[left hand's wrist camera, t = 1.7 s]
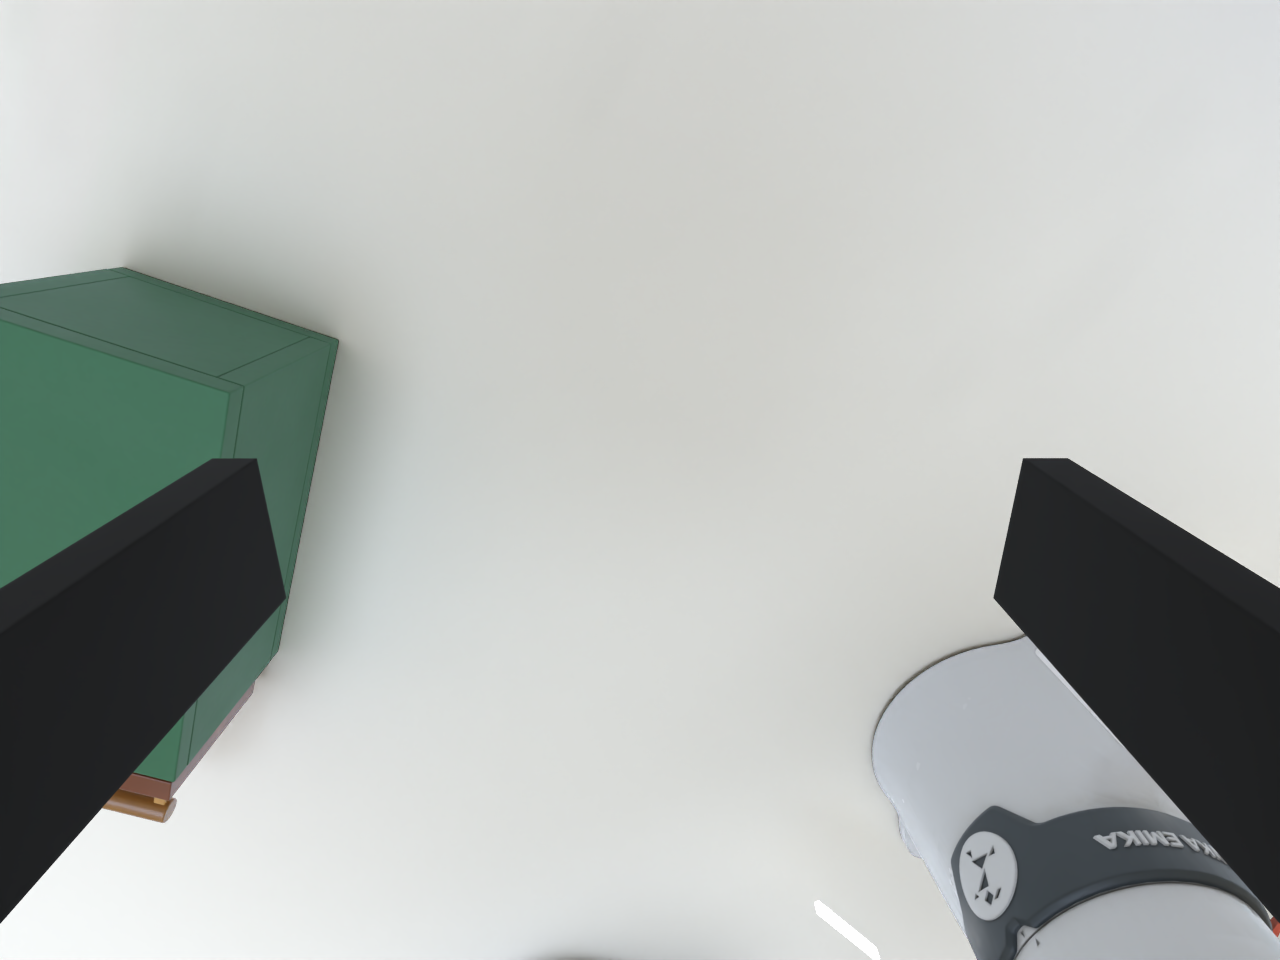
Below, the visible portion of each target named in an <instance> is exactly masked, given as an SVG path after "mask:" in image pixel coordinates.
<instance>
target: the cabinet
mask: <svg viewBox="0 0 1280 960" xmlns="http://www.w3.org/2000/svg"><path fill="white" fill-rule="evenodd" d="M337 347H338V340H337V339H334V338H331V337H328V336H325V335H322V334H319V333H316V332H313V331H310V330H307V329H304V328H301V327H298V326H295V325H292V324H289V323H286V322H283V321H280V320H277V319H274V318H272V317H269V316H266V315H263V314H260V313H257V312H254V311H251V310H248V309H245V308H242V307H239V306H236V305H233V304H230V303H227V302H224V301H221V300H218V299H215V298H212V297H209V296H206V295H203V294H200V293H197V292H194V291H191V290H188V289H185V288H182V287H179V286H176V285H173V284H170V283H167V282H164V281H161V280H158V279H155V278H152V277H150V276H147V275H144V274H141V273H138V272H135V271H132V270H129V269H126V268H123V267H120V268H113V269H103V270H96V271H89V272H82V273H75V274H68V275H61V276H54V277H47V278H40V279H33V280H26V281H19V282H11V283H4V284H0V588H2V587H3V586H5V585H7V584H8V583H10V582H12V581H13V580H15V579H16V578H18V577H20V576H21V575H23V574H25V573H26V572H28V571H29V570H31V569H33V568H34V567H36V566H38V565H39V564H41V563H42V562H44V561H46V560H47V559H49V558H51V557H52V556H54V555H56V554H57V553H59V552H60V551H62V550H64V549H65V548H67V547H69V546H70V545H72V544H73V543H75V542H77V541H78V540H80V539H82V538H83V537H85V536H86V535H88V534H90V533H91V532H93V531H95V530H96V529H98V528H100V527H101V526H103V525H104V524H106V523H108V522H109V521H111V520H113V519H114V518H116V517H117V516H119V515H121V514H122V513H124V512H126V511H127V510H129V509H130V508H132V507H134V506H135V505H137V504H139V503H140V502H142V501H144V500H145V499H147V498H148V497H150V496H152V495H153V494H155V493H157V492H158V491H160V490H161V489H163V488H165V487H166V486H168V485H170V484H171V483H173V482H174V481H176V480H178V479H179V478H181V477H183V476H184V475H186V474H188V473H189V472H191V471H192V470H194V469H196V468H197V467H199V466H201V465H202V464H204V463H205V462H207V461H209V460H210V459H212V458H257V461H258V466H259V471H260V475H261V480H262V485H263V490H264V494H265V499H266V504H267V508H268V513H269V518H270V522H271V527H272V532H273V537H274V541H275V546H276V551H277V555H278V560H279V565H280V570H281V574H282V579H283V584H284V588H285V593H286V599H285V600H284V601H283V603H282V604H281V605H280V606H279V607H278V608H277V609H276V611H275V612H274V613H273V614H272V615H271V616H270V617H269V618H268V620H267V621H266V622H265V623H264V624H263V625H262V626H261V628H260V629H259V630H258V631H257V632H256V633H255V634H254V636H253V637H252V638H251V639H250V640H249V641H248V642H247V643H246V645H245V646H244V647H243V648H242V649H241V650H240V651H239V653H238V654H237V655H236V656H235V657H234V658H233V659H232V661H231V662H230V663H229V664H228V665H227V666H226V667H225V669H224V670H223V671H222V672H221V673H220V674H219V675H218V676H217V678H216V679H215V680H214V681H213V682H212V683H211V684H210V686H209V687H208V688H207V689H206V690H205V691H204V692H203V694H202V695H201V696H200V697H199V698H198V699H197V700H196V702H195V703H194V704H193V705H192V706H191V707H190V708H189V709H188V711H187V712H186V713H185V714H184V715H183V716H182V717H181V719H180V720H179V721H178V722H177V723H176V724H175V725H174V727H173V728H172V729H171V730H170V731H169V732H168V733H167V734H166V736H165V737H164V738H163V739H162V740H161V741H160V742H159V744H158V745H157V746H156V747H155V748H154V749H153V750H152V752H151V753H150V754H149V755H148V756H147V757H146V758H145V760H144V761H143V762H142V763H141V764H140V765H139V766H138V767H137V769H136V770H135V771H134V772H135V773H139V774H142V775H146V776H150V777H154V778H158V779H162V780H166V781H170V782H175V781H176V779H177V778H178V777H179V776H180V774H181V773H182V772H183V771H184V769H185V768H186V767H187V765H188V764H189V763H190V762H191V761H192V759H193V758H194V757H195V756H196V754H197V753H198V752H199V750H200V749H201V748H202V747H203V745H204V744H205V743H206V742H207V740H208V739H209V738H210V737H211V735H212V734H213V733H214V732H215V730H216V729H217V728H218V726H219V725H220V724H221V723H222V721H223V720H224V719H225V718H226V716H227V715H228V714H229V713H230V711H231V710H232V709H233V708H234V706H235V705H236V704H237V702H238V701H239V700H240V699H241V697H242V696H243V695H244V694H245V692H246V691H247V690H248V689H249V687H250V686H251V685H252V683H253V682H254V681H255V680H256V678H257V677H258V676H259V675H260V673H261V672H262V671H263V670H264V668H265V667H266V666H267V665H268V663H269V662H270V660H271V659H272V658H273V657H274V655H275V654H276V653H277V652H278V648H279V643H280V638H281V633H282V628H283V622H284V617H285V612H286V607H287V602H288V597H289V592H290V587H291V582H292V577H293V571H294V566H295V561H296V556H297V551H298V546H299V541H300V536H301V531H302V526H303V520H304V515H305V510H306V505H307V500H308V495H309V490H310V485H311V480H312V475H313V469H314V464H315V459H316V454H317V449H318V444H319V439H320V434H321V429H322V423H323V418H324V413H325V408H326V403H327V398H328V393H329V388H330V383H331V378H332V372H333V367H334V362H335V357H336V352H337Z"/></svg>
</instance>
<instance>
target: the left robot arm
mask: <svg viewBox="0 0 1280 960" xmlns="http://www.w3.org/2000/svg"><path fill="white" fill-rule="evenodd" d="M285 599H286V593H285V588H284V584H283V579H282V574H281V570H280V565H279V560H278V555H277V551H276V546H275V541H274V537H273V532H272V527H271V522H270V518H269V513H268V508H267V504H266V499H265V494H264V490H263V485H262V480H261V475H260V471H259V466H258V461H257V458H212V459H210V460H209V461H207V462H205V463H204V464H202V465H201V466H199V467H197V468H196V469H194V470H192V471H191V472H189V473H188V474H186V475H184V476H183V477H181V478H179V479H178V480H176V481H174V482H173V483H171V484H170V485H168V486H166V487H165V488H163V489H161V490H160V491H158V492H157V493H155V494H153V495H152V496H150V497H148V498H147V499H145V500H144V501H142V502H140V503H139V504H137V505H135V506H134V507H132V508H130V509H129V510H127V511H126V512H124V513H122V514H121V515H119V516H117V517H116V518H114V519H113V520H111V521H109V522H108V523H106V524H104V525H103V526H101V527H100V528H98V529H96V530H95V531H93V532H91V533H90V534H88V535H86V536H85V537H83V538H82V539H80V540H78V541H77V542H75V543H73V544H72V545H70V546H69V547H67V548H65V549H64V550H62V551H60V552H59V553H57V554H56V555H54V556H52V557H51V558H49V559H47V560H46V561H44V562H42V563H41V564H39V565H38V566H36V567H34V568H33V569H31V570H29V571H28V572H26V573H25V574H23V575H21V576H20V577H18V578H16V579H15V580H13V581H12V582H10V583H8V584H7V585H5V586H3V587H2V588H0V923H1V922H2V921H3V920H4V919H5V918H6V917H7V915H8V914H9V913H10V912H11V911H12V910H13V909H14V907H15V906H16V905H17V904H18V903H19V902H20V901H21V899H22V898H23V897H24V896H25V895H26V894H27V893H28V891H29V890H30V889H31V888H32V887H33V886H34V885H35V884H36V882H37V881H38V880H39V879H40V878H41V877H42V876H43V874H44V873H45V872H46V871H47V870H48V869H49V868H50V866H51V865H52V864H53V863H54V862H55V861H56V860H57V858H58V857H59V856H60V855H61V854H62V853H63V852H64V851H65V849H66V848H67V847H68V846H69V845H70V844H71V843H72V841H73V840H74V839H75V838H76V837H77V836H78V835H79V833H80V832H81V831H82V830H83V829H84V828H85V827H86V826H87V824H88V823H89V822H90V821H91V820H92V819H93V818H94V816H95V815H96V814H97V813H98V812H99V811H100V810H101V808H102V807H103V806H104V805H105V804H106V803H107V802H108V800H109V799H110V798H111V797H112V796H113V795H114V794H115V793H116V791H117V790H118V789H119V788H120V787H121V786H122V785H123V783H124V782H125V781H126V780H127V779H128V778H129V777H130V775H131V774H132V773H133V772H134V771H135V770H136V769H137V767H138V766H139V765H140V764H141V763H142V762H143V761H144V760H145V758H146V757H147V756H148V755H149V754H150V753H151V752H152V750H153V749H154V748H155V747H156V746H157V745H158V744H159V742H160V741H161V740H162V739H163V738H164V737H165V736H166V734H167V733H168V732H169V731H170V730H171V729H172V728H173V727H174V725H175V724H176V723H177V722H178V721H179V720H180V719H181V717H182V716H183V715H184V714H185V713H186V712H187V711H188V709H189V708H190V707H191V706H192V705H193V704H194V703H195V702H196V700H197V699H198V698H199V697H200V696H201V695H202V694H203V692H204V691H205V690H206V689H207V688H208V687H209V686H210V684H211V683H212V682H213V681H214V680H215V679H216V678H217V676H218V675H219V674H220V673H221V672H222V671H223V670H224V669H225V667H226V666H227V665H228V664H229V663H230V662H231V661H232V659H233V658H234V657H235V656H236V655H237V654H238V653H239V651H240V650H241V649H242V648H243V647H244V646H245V645H246V643H247V642H248V641H249V640H250V639H251V638H252V637H253V636H254V634H255V633H256V632H257V631H258V630H259V629H260V628H261V626H262V625H263V624H264V623H265V622H266V621H267V620H268V618H269V617H270V616H271V615H272V614H273V613H274V612H275V611H276V609H277V608H278V607H279V606H280V605H281V604H282V603H283V601H284V600H285ZM994 599H995V600H996V601H997V603H998V604H999V605H1000V606H1001V607H1002V608H1003V609H1004V611H1005V612H1006V613H1007V614H1008V615H1009V616H1010V617H1011V618H1012V620H1013V621H1014V622H1015V623H1016V624H1017V625H1018V626H1019V628H1020V629H1021V630H1022V631H1023V632H1024V633H1025V634H1026V636H1027V637H1028V638H1029V639H1030V640H1031V641H1032V642H1033V643H1034V645H1035V646H1036V647H1037V648H1038V649H1039V650H1040V651H1041V653H1042V654H1043V655H1044V656H1045V657H1046V658H1047V659H1048V661H1049V662H1050V663H1051V664H1052V665H1053V666H1054V667H1055V669H1056V670H1057V671H1058V672H1059V673H1060V674H1061V675H1062V676H1063V678H1064V679H1065V680H1066V681H1067V682H1068V683H1069V684H1070V686H1071V687H1072V688H1073V689H1074V690H1075V691H1076V692H1077V694H1078V695H1079V696H1080V697H1081V698H1082V699H1083V700H1084V702H1085V703H1086V704H1087V705H1088V706H1089V707H1090V708H1091V709H1092V711H1093V712H1094V713H1095V714H1096V715H1097V716H1098V717H1099V719H1100V720H1101V721H1102V722H1103V723H1104V724H1105V725H1106V727H1107V728H1108V729H1109V730H1110V731H1111V732H1112V733H1113V734H1114V736H1115V737H1116V738H1117V739H1118V740H1119V741H1120V742H1121V744H1122V745H1123V746H1124V747H1125V748H1126V749H1127V750H1128V752H1129V753H1130V754H1131V755H1132V756H1133V757H1134V758H1135V760H1136V761H1137V762H1138V763H1139V764H1140V765H1141V766H1142V767H1143V769H1144V770H1145V771H1146V772H1147V773H1148V774H1149V775H1150V777H1151V778H1152V779H1153V780H1154V781H1155V782H1156V783H1157V785H1158V786H1159V787H1160V788H1161V789H1162V790H1163V791H1164V793H1165V794H1166V795H1167V796H1168V797H1169V798H1170V799H1171V800H1172V802H1173V803H1174V804H1175V805H1176V806H1177V807H1178V808H1179V810H1180V811H1181V812H1182V813H1183V814H1184V815H1185V816H1186V818H1187V819H1188V820H1189V821H1190V822H1191V823H1192V824H1193V826H1194V827H1195V828H1196V829H1197V830H1198V831H1199V832H1200V833H1201V835H1202V836H1203V837H1204V838H1205V839H1206V840H1207V841H1208V843H1209V844H1210V845H1211V846H1212V847H1213V848H1214V849H1215V851H1216V852H1217V853H1218V854H1219V855H1220V856H1221V857H1222V858H1223V860H1224V861H1225V862H1226V863H1227V864H1228V865H1229V866H1230V868H1231V869H1232V870H1233V871H1234V872H1235V873H1236V874H1237V876H1238V877H1239V878H1240V879H1241V880H1242V881H1243V882H1244V884H1245V885H1246V886H1247V887H1248V888H1249V889H1250V890H1251V891H1252V893H1253V894H1254V895H1255V896H1256V897H1257V898H1258V899H1259V901H1260V902H1261V903H1262V904H1263V905H1264V906H1265V907H1266V909H1267V910H1268V911H1269V912H1270V913H1271V914H1272V915H1273V917H1274V918H1275V919H1276V920H1277V921H1278V922H1279V923H1280V588H1278V587H1277V586H1275V585H1273V584H1272V583H1270V582H1268V581H1267V580H1265V579H1264V578H1262V577H1260V576H1259V575H1257V574H1255V573H1254V572H1252V571H1251V570H1249V569H1247V568H1246V567H1244V566H1242V565H1241V564H1239V563H1238V562H1236V561H1234V560H1233V559H1231V558H1229V557H1228V556H1226V555H1224V554H1223V553H1221V552H1220V551H1218V550H1216V549H1215V548H1213V547H1211V546H1210V545H1208V544H1207V543H1205V542H1203V541H1202V540H1200V539H1198V538H1197V537H1195V536H1194V535H1192V534H1190V533H1189V532H1187V531H1185V530H1184V529H1182V528H1180V527H1179V526H1177V525H1176V524H1174V523H1172V522H1171V521H1169V520H1167V519H1166V518H1164V517H1163V516H1161V515H1159V514H1158V513H1156V512H1154V511H1153V510H1151V509H1150V508H1148V507H1146V506H1145V505H1143V504H1141V503H1140V502H1138V501H1136V500H1135V499H1133V498H1132V497H1130V496H1128V495H1127V494H1125V493H1123V492H1122V491H1120V490H1119V489H1117V488H1115V487H1114V486H1112V485H1110V484H1109V483H1107V482H1106V481H1104V480H1102V479H1101V478H1099V477H1097V476H1096V475H1094V474H1092V473H1091V472H1089V471H1088V470H1086V469H1084V468H1083V467H1081V466H1079V465H1078V464H1076V463H1075V462H1073V461H1071V460H1070V459H1068V458H1023V461H1022V466H1021V471H1020V475H1019V480H1018V485H1017V489H1016V494H1015V499H1014V504H1013V508H1012V513H1011V518H1010V522H1009V527H1008V532H1007V537H1006V541H1005V546H1004V551H1003V555H1002V560H1001V565H1000V570H999V574H998V579H997V584H996V588H995V593H994Z"/></svg>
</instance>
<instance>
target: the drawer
mask: <svg viewBox="0 0 1280 960" xmlns="http://www.w3.org/2000/svg"><path fill="white" fill-rule="evenodd" d="M254 684H255V681H254V682H253V683H252V685H251V686H250V687H249V689H248V690H247V691H246V692H245V694H244V695H243V696H242V697H241V699H240V700H239V701H238V702H237V704H236V705H235V706H234V708H233V709H232V710H231V711H230V713H229V714H228V715H227V716H226V718H225V719H224V720H223V721H222V723H221V724H220V725H219V726H218V728H217V729H216V730H215V732H214V733H213V734H212V735H211V737H210V738H209V739H208V740H207V742H206V743H205V744H204V745H203V747H202V748H201V749H200V750H199V752H198V753H197V754H196V756H195V757H194V758H193V759H192V761H191V762H190V763H189V764H188V765H187V767H186V768H185V769H184V771H183V772H182V773H181V774H180V776H179V777H178V778H177V779H176V781H175V782H170V781H166V780H162V779H158V778H154V777H150V776H146V775H142V774H139V773H135V772H133V773H132V774H131V775H130V777H129V778H128V779H127V780H126V781H125V782H124V783H123V785H122V786H121V787H120V788H119V789H118V790H117V791H116V793H115V794H114V795H113V796H112V797H111V798H110V799H109V800H108V802H107V803H106V804H105V805H104V806H103V807H102V808H103V809H107V810H111V811H115V812H119V813H124V814H128V815H132V816H136V817H140V818H144V819H148V820H152V821H156V822H160V823H165V822H166V821H167V820H168V819H169V818H170V816H171V815H172V813H173V811H174V809H175V806H176V802H177V800H176V799H175V798H172V796H173V795H174V794H175V792H176V791H177V790H178V788H179V787H180V786H181V785H182V783H183V782H184V781H185V779H186V778H187V777H188V775H189V774H190V773H191V772H192V770H193V769H194V768H195V766H196V765H197V764H198V763H199V761H200V760H201V759H202V757H203V756H204V755H205V754H206V752H207V751H208V750H209V748H210V747H211V746H212V745H213V743H214V742H215V741H216V739H217V738H218V737H219V736H220V734H221V733H222V732H223V730H224V729H225V728H226V727H227V725H228V724H229V723H230V721H231V720H232V719H233V718H234V716H235V715H236V714H237V712H238V711H239V710H240V709H241V707H242V706H243V705H244V703H245V702H246V701H247V699H248V698H249V697H250V696H251V694H252V693H253V689H254Z"/></svg>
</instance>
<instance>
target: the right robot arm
mask: <svg viewBox="0 0 1280 960" xmlns="http://www.w3.org/2000/svg"><path fill="white" fill-rule="evenodd" d="M872 763H873V769H874V773H875V776H876V779H877V781H878V783H879V785H880V787H881V789H882V790H883V792H884V793H885V795H886V796H887V797H888V799H889V800H890V802H891V803H892V805H893V806H894V808H895V809H896V811H897V812H898V818H899V829H900V834H901V837H902V839H903V841H904V843H905V845H906V847H907V849H908V850H909V852H910V853H911V854H912V855H913V856H915V857H918V858H922V859H923V861H924V863H925V865H926V866H927V868H928V870H929V872H930V874H931V876H932V877H933V879H934V881H935V883H936V885H937V887H938V888H939V890H940V892H941V894H942V896H943V897H944V899H945V901H946V903H947V905H948V906H949V908H950V910H951V912H952V913H953V915H954V917H955V919H956V921H957V922H958V924H959V926H960V928H961V929H962V931H963V933H964V934H965V936H966V937H967V939H968V940H969V942H970V945H971V947H972V949H973V951H974V954H975V956H976V958H977V960H1280V940H1279V939H1278V938H1277V937H1278V935H1279V933H1280V923H1279V922H1278V921H1277V920H1276V919H1275V918H1274V917H1273V918H1272V919H1271V920H1270V919H1269V916H1268V914H1267V911H1266V910H1265V908H1264V906H1263V904H1262V903H1261V902H1260V901H1259V899H1258V898H1257V897H1256V896H1255V895H1254V894H1253V893H1252V891H1251V890H1250V889H1249V888H1248V887H1247V886H1246V885H1245V884H1244V882H1243V881H1242V880H1241V879H1240V878H1239V877H1238V876H1237V874H1236V873H1235V872H1234V871H1233V870H1232V869H1231V868H1230V866H1229V865H1228V864H1227V863H1226V862H1225V861H1224V860H1223V858H1222V857H1221V856H1220V855H1219V854H1218V853H1217V852H1216V851H1215V849H1214V848H1213V847H1212V846H1211V845H1210V844H1209V843H1208V841H1207V840H1206V839H1205V838H1204V837H1203V836H1202V835H1201V833H1200V832H1199V831H1198V830H1197V829H1196V828H1195V827H1194V826H1193V824H1192V823H1191V822H1190V821H1189V820H1188V819H1187V818H1186V816H1185V815H1184V814H1183V813H1182V812H1181V811H1180V810H1179V808H1178V807H1177V806H1176V805H1175V804H1174V803H1173V802H1172V800H1171V799H1170V798H1169V797H1168V796H1167V795H1166V794H1165V793H1164V791H1163V790H1162V789H1161V788H1160V787H1159V786H1158V785H1157V783H1156V782H1155V781H1154V780H1153V779H1152V778H1151V777H1150V775H1149V774H1148V773H1147V772H1146V771H1145V770H1144V769H1143V767H1142V766H1141V765H1140V764H1139V763H1138V762H1137V761H1136V760H1135V758H1134V757H1133V756H1132V755H1131V754H1130V753H1129V752H1128V750H1127V749H1126V748H1125V747H1124V746H1123V745H1122V744H1121V742H1120V741H1119V740H1118V739H1117V738H1116V737H1115V736H1114V734H1113V733H1112V732H1111V731H1110V730H1109V729H1108V728H1107V727H1106V725H1105V724H1104V723H1103V722H1102V721H1101V720H1100V719H1099V717H1098V716H1097V715H1096V714H1095V713H1094V712H1093V711H1092V709H1091V708H1090V707H1089V706H1088V705H1087V704H1086V703H1085V702H1084V700H1083V699H1082V698H1081V697H1080V696H1079V695H1078V694H1077V692H1076V691H1075V690H1074V689H1073V688H1072V687H1071V686H1070V684H1069V683H1068V682H1067V681H1066V680H1065V679H1064V678H1063V676H1062V675H1061V674H1060V673H1059V672H1058V671H1057V670H1056V669H1055V667H1054V666H1053V665H1052V664H1051V663H1050V662H1049V661H1048V659H1047V658H1046V657H1045V656H1044V655H1043V654H1042V653H1041V651H1040V650H1039V649H1038V648H1037V647H1036V646H1035V645H1034V643H1033V642H1032V641H1031V640H1030V639H1029V638H1028V637H1027V636H1025V637H1023V638H1021V639H1018V640H1015V641H1012V642H1007V643H1003V644H997V645H991V646H986V647H981V648H977V649H973V650H969V651H966V652H963V653H960V654H957V655H955V656H952V657H950V658H948V659H945V660H943V661H941V662H939V663H937V664H936V665H934V666H932V667H930V668H929V669H927V670H926V671H924V672H923V673H921V674H920V675H918V676H917V677H916V678H914V679H913V680H912V681H911V682H910V683H908V684H907V685H906V686H905V687H904V688H903V689H902V690H901V691H900V692H899V693H898V694H897V696H896V697H895V698H894V699H893V700H892V702H891V703H890V704H889V706H888V707H887V709H886V710H885V712H884V714H883V715H882V717H881V719H880V721H879V724H878V726H877V729H876V732H875V735H874V740H873V746H872ZM815 907H816V911H817V914H818V915H819V916H821V917H822V918H823V919H824V920H826V921H827V922H828V923H829V924H830V925H832V926H833V927H834V928H835V929H837V930H838V931H839V932H840V933H842V934H843V935H844V936H845V937H847V938H848V939H849V940H850V941H852V942H853V943H854V944H855V945H857V946H858V947H859V948H860V949H862V950H863V951H864V952H865V953H867V954H868V955H869V956H870V957H871V958H873V959H874V960H879V959H880V957H879V954H878V951H877V948H876V947H875V946H874V945H873V944H872V943H870V942H869V941H868V940H867V939H865V938H864V937H863V936H862V935H861V934H859V933H858V932H857V931H856V930H854V929H853V928H852V927H851V926H849V925H848V924H847V923H846V922H845V921H843V920H842V919H841V918H840V917H838V916H837V915H836V914H835V913H834V912H832V911H831V910H830V909H829V908H827V907H826V906H825V905H824V904H822V903H821V902H820V901H819V900H818V901H817V902H815Z"/></svg>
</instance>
